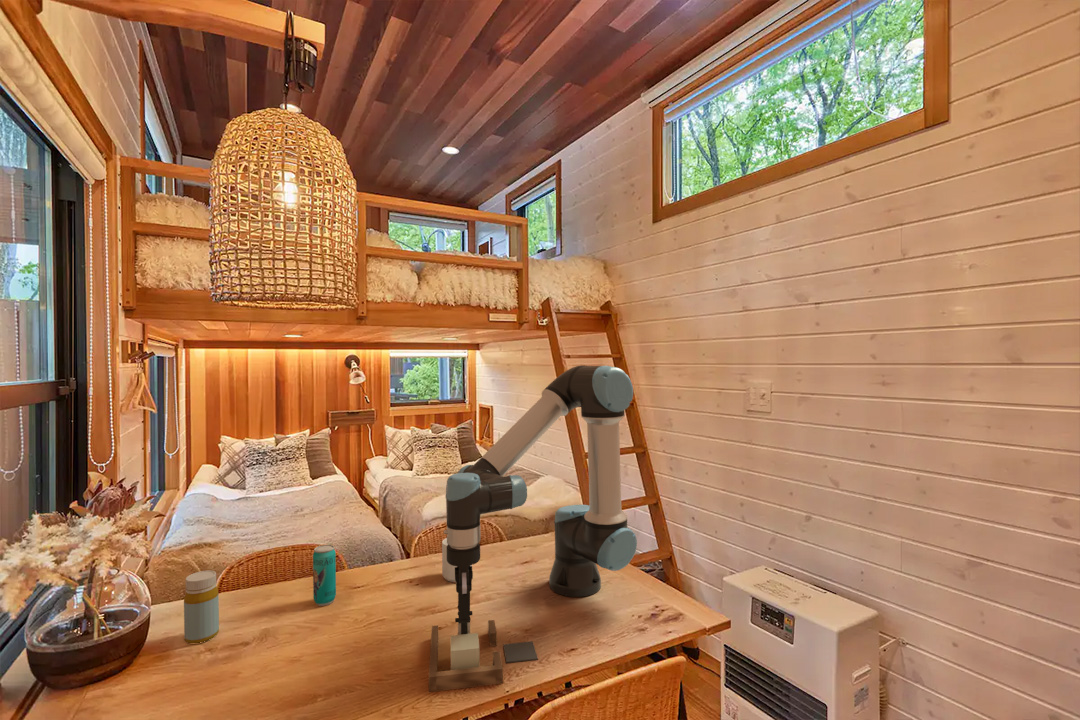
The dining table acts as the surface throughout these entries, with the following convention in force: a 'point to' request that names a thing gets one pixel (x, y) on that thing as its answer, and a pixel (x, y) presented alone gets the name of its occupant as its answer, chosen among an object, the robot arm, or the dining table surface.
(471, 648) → the block
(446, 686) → the channel
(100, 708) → the dining table surface
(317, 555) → the beverage can
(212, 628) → the bottle
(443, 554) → the mug
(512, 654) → the plate
